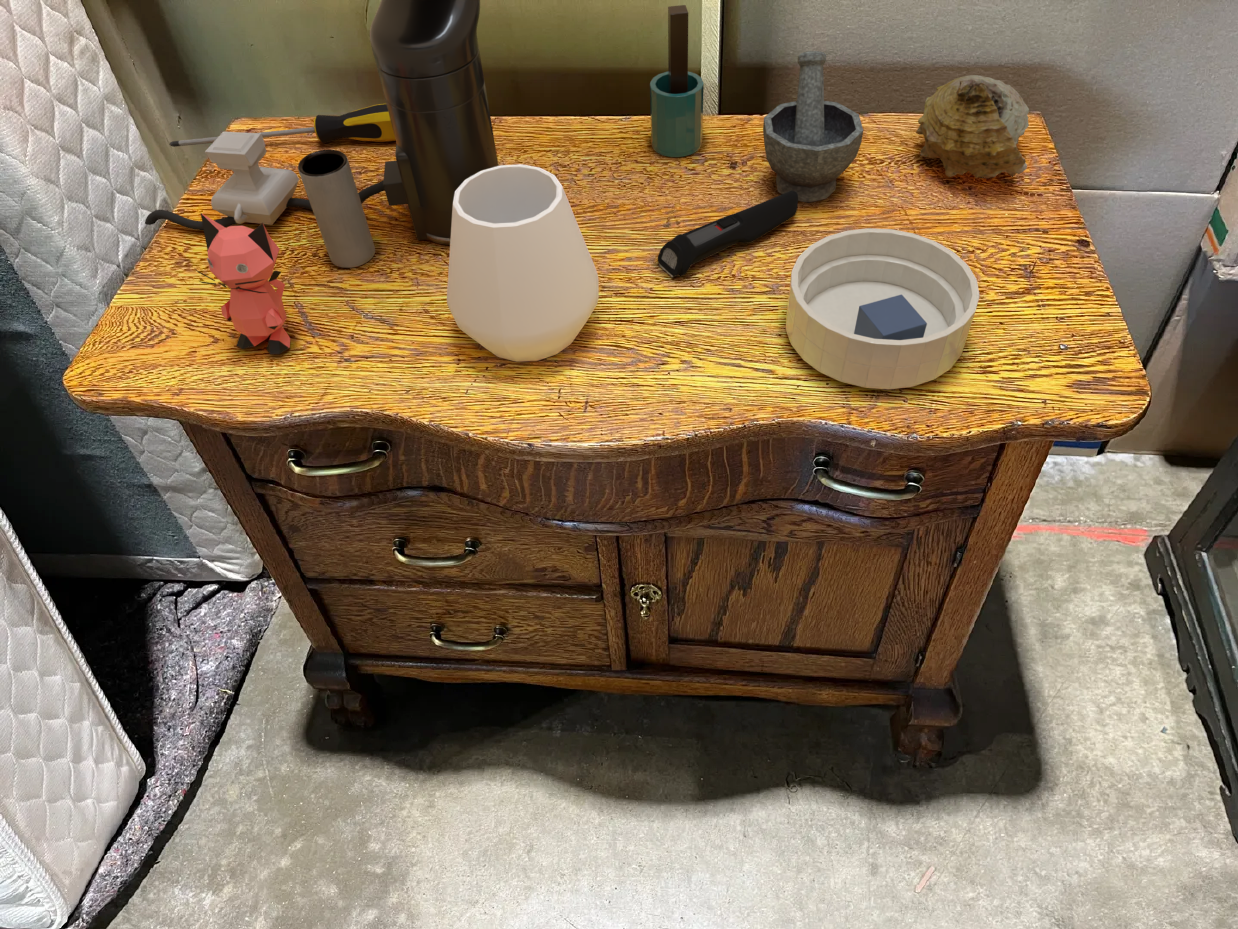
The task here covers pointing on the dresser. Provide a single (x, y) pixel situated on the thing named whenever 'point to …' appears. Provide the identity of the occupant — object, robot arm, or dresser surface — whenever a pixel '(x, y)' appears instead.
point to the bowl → (870, 272)
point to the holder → (676, 116)
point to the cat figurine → (248, 282)
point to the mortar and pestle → (811, 136)
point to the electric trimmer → (726, 233)
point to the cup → (518, 264)
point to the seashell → (975, 127)
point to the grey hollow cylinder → (337, 207)
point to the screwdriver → (335, 127)
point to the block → (890, 320)
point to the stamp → (249, 180)
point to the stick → (678, 49)
